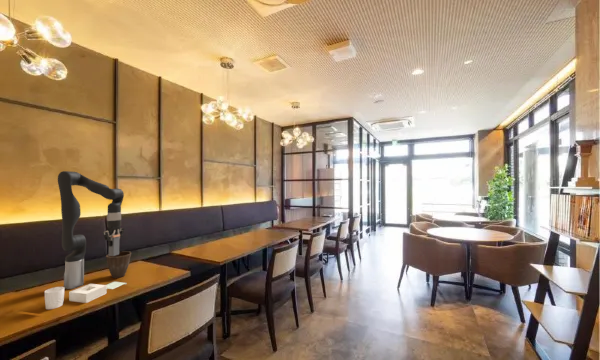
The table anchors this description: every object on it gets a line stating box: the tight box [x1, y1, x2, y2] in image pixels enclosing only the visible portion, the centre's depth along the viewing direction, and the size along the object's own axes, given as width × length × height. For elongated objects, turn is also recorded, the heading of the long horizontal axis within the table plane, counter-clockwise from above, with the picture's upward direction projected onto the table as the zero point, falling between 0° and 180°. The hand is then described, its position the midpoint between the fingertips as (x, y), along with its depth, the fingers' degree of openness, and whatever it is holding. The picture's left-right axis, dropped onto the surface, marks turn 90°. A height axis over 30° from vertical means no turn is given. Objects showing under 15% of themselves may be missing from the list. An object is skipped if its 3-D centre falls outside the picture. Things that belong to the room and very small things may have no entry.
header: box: [68, 283, 108, 304], centre depth 149 cm, size 12×12×6 cm
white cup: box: [44, 286, 65, 310], centre depth 138 cm, size 8×8×10 cm
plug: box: [108, 234, 120, 256], centre depth 166 cm, size 5×5×13 cm
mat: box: [106, 281, 127, 290], centre depth 166 cm, size 10×10×1 cm
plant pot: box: [105, 250, 132, 279], centre depth 184 cm, size 15×15×16 cm
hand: (113, 245), depth 166 cm, fingers closed on plug, 4 cm apart
